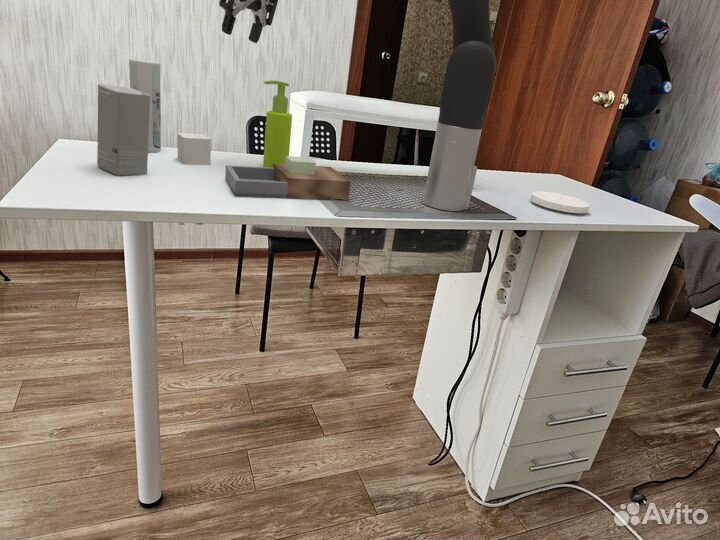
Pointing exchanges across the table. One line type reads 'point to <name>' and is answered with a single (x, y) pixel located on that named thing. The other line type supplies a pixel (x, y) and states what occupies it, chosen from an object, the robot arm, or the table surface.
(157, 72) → the spray can
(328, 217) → the table surface
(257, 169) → the box
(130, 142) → the skincare box
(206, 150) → the white cube
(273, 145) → the soap dispenser
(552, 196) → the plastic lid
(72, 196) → the table surface
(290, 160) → the tile
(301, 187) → the brown flat square block
